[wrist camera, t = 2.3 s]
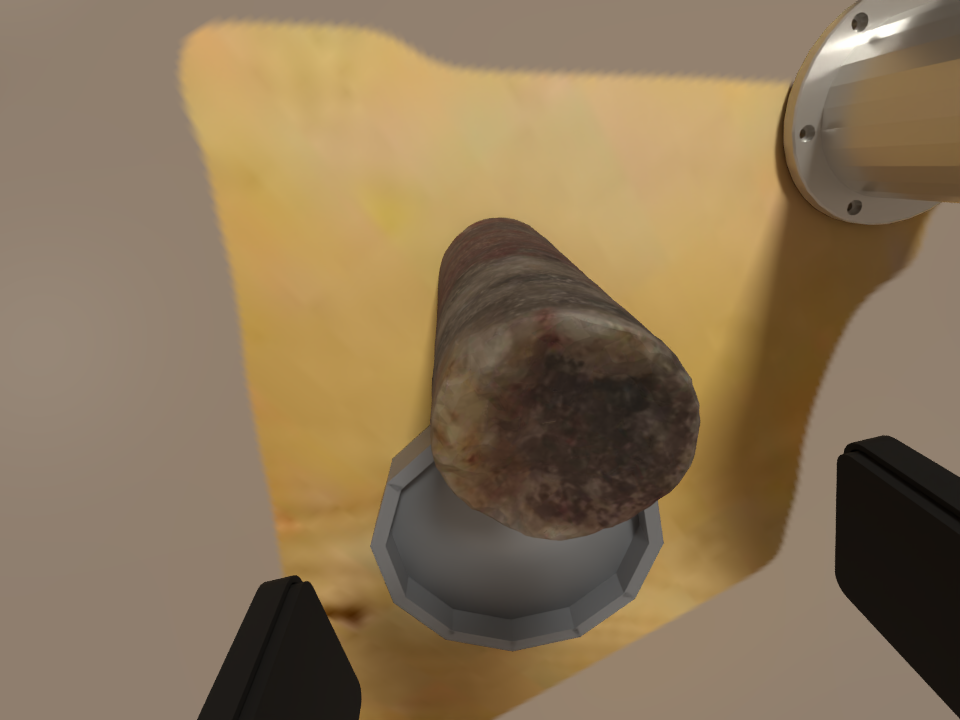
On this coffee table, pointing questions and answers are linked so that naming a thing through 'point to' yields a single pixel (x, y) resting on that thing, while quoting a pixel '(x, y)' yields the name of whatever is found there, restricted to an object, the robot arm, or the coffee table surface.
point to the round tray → (499, 564)
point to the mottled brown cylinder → (550, 391)
